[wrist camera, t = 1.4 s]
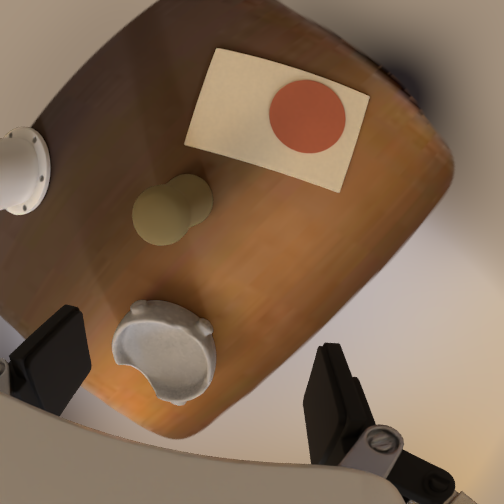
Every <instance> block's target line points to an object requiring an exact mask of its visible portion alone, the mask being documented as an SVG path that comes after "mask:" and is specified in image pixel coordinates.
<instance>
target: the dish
mask: <svg viewBox="0 0 504 504" xmlns="http://www.w3.org/2000/svg"><path fill="white" fill-rule="evenodd" d="M130 309H131V310H130V311H129V312H128V313H127V314H126V315H125V316H124V318H123V319H122V321H121V322H120V324H119V325H118V327H117V329H116V331H115V333H114V336H113V340H112V352H113V355H114V359H115V362H116V363H117V364H118V365H130V366H132V367H134V368H136V369H138V370H139V371H140V372H141V373H142V374H143V375H144V376H145V377H146V378H147V379H148V381H149V382H150V384H151V386H152V387H153V389H154V391H155V393H156V396H157V397H158V398H159V399H161V400H164V401H170V402H171V403H173V404H175V405H178V406H179V405H184V404H185V403H186V401H188V400H191V399H194V398H196V397H197V396H199V395H201V394H202V393H203V392H204V391H205V390H206V389H207V388H208V386H209V385H210V383H211V381H212V378H213V375H214V372H215V367H216V348H215V343H214V339H213V337H212V333H213V327H212V325H211V324H210V322H209V321H208V320H206V319H204V318H201V319H200V318H199V317H198V316H197V315H195V314H194V313H192V312H191V311H189V310H187V309H185V308H183V307H181V306H179V305H177V304H174V303H170V302H167V301H161V300H150V301H146V300H138V301H136V302H134V303H133V304H132V305H131V307H130Z"/></svg>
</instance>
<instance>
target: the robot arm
mask: <svg viewBox="0 0 504 504" xmlns="http://www.w3.org/2000/svg"><path fill="white" fill-rule="evenodd" d="M50 168H51V167H50V156H49V151H48V148H47V145H46V143H45V141H44V139H43V137H42V136H41V135H40V134H39V133H38V132H37V131H36V130H34V129H32V128H29V127H19V128H15V129H13V130H11V131H10V132H8V133H7V134H6V135H5V136H4V138H0V210H2V209H6V210H7V211H9V212H10V213H12V214H16V215H23V214H26V213H29V212H31V211H33V210H34V209H35V208H36V207H37V206H38V205H39V204H40V203H41V201H42V200H43V198H44V196H45V194H46V191H47V188H48V185H49V179H50ZM9 357H10V360H11V361H10V362H9V363H8V362H7V361H6V360H4V359H3V358H0V504H477V503H476V502H475V501H473V500H472V499H471V498H470V497H468V496H467V495H466V494H465V493H464V492H462V491H461V492H460V493H458V492H456V491H455V481H454V479H453V477H452V476H451V475H450V474H449V473H448V472H447V471H445V470H443V469H441V468H439V467H437V466H435V465H433V464H430V463H429V462H427V461H425V460H423V459H421V458H419V457H417V456H415V455H412V454H411V453H409V452H407V451H405V450H403V445H404V442H403V438H402V436H401V434H400V433H399V432H398V431H397V430H395V429H394V428H392V427H389V426H387V425H376V424H375V421H374V418H373V416H372V413H371V411H370V408H369V405H368V402H367V400H366V397H365V394H364V392H363V389H362V387H361V384H360V381H359V380H358V378H357V377H352V375H351V372H350V370H349V367H348V364H347V362H346V359H345V356H344V354H343V351H342V348H341V346H340V344H338V343H324V345H323V346H319V347H318V349H317V353H316V357H315V360H314V364H313V368H312V371H311V375H310V378H309V381H308V385H307V388H306V392H305V395H304V400H303V407H304V415H305V422H306V429H307V436H308V443H309V451H310V459H311V464H291V463H270V462H258V461H246V460H236V459H227V458H219V457H212V456H205V455H199V454H193V453H187V452H181V451H176V450H171V449H166V448H162V447H157V446H153V445H148V444H144V443H140V442H136V441H132V440H129V439H125V438H121V437H118V436H114V435H111V434H107V433H105V432H101V431H98V430H95V429H92V428H89V427H86V426H83V425H80V424H78V423H75V422H72V421H69V420H67V419H64V418H61V417H59V416H60V415H61V413H62V412H63V410H64V409H65V407H66V406H67V404H68V403H69V401H70V400H71V398H72V397H73V395H74V394H75V392H76V391H77V390H78V388H79V387H80V385H81V384H82V382H83V381H84V379H85V378H86V377H87V375H88V374H89V372H90V370H91V359H90V355H89V349H88V344H87V339H86V333H85V327H84V320H83V314H82V312H81V311H80V310H79V308H78V307H74V306H70V305H64V306H63V307H62V308H60V309H59V310H58V311H57V312H56V313H55V314H54V315H52V316H51V317H50V318H49V319H48V320H47V321H46V322H45V323H43V324H42V325H41V326H40V327H39V328H38V329H37V330H36V331H35V332H34V333H33V334H31V335H30V336H29V337H28V338H27V339H26V340H25V341H24V342H23V343H22V344H21V345H20V346H19V347H18V348H17V349H16V350H15V351H14V352H12V353H11V354H10V355H9Z"/></svg>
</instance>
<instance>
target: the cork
mask: <svg viewBox="0 0 504 504" xmlns="http://www.w3.org/2000/svg"><path fill="white" fill-rule="evenodd" d="M212 205H213V196H212V191H211V189H210V187H209V185H208V184H207V183H206V182H205V181H204V180H203V179H202V178H200V177H198V176H196V175H191V174H183V175H179V176H177V177H175V178H173V179H171V180H170V181H169V182H168V183H167V184H165V185H163V184H162V185H157V186H152V187H150V188H148V189H146V190H145V191H143V192H142V193H141V195H140V196H139V197H138V198H137V199H136V202H135V204H134V206H133V211H132V219H133V224H134V227H135V229H136V231H137V233H138V234H139V235H140V236H141V237H142V238H143V239H144V240H145V241H147V242H149V243H151V244H154V245H159V246H162V245H170V244H173V243H175V242H177V241H179V240H180V239H181V238H182V237H183V236H184V235H185V234H186V233H187V231H188V229H189V227H192V226H195V225H197V224H199V223H201V222H203V221H204V220H205V219H206V218H207V217H208V215H209V214H210V212H211V210H212Z"/></svg>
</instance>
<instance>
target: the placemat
mask: <svg viewBox="0 0 504 504" xmlns="http://www.w3.org/2000/svg"><path fill="white" fill-rule="evenodd" d="M369 97H370V96H368V95H365V94H363V93H361V92H358V91H356V90H353V89H351V88H349V87H346V86H344V85H341V84H339V83H336V82H333V81H331V80H328V79H325V78H323V77H320V76H317V75H314V74H311V73H308V72H305V71H302V70H299V69H296V68H293V67H290V66H287V65H283V64H280V63H277V62H273V61H269V60H266V59H262V58H258V57H254V56H251V55H246V54H242V53H238V52H234V51H229V50H224V49H220V48H216V51H215V53H214V56H213V59H212V61H211V64H210V67H209V70H208V72H207V75H206V78H205V81H204V84H203V87H202V89H201V92H200V95H199V98H198V101H197V104H196V108H195V111H194V114H193V117H192V120H191V123H190V127H189V130H188V133H187V136H186V140H185V143H184V145H187V146H191V147H194V148H198V149H202V150H206V151H209V152H213V153H217V154H220V155H224V156H227V157H231V158H234V159H238V160H241V161H245V162H248V163H251V164H254V165H258V166H261V167H264V168H267V169H271V170H274V171H277V172H280V173H283V174H286V175H289V176H292V177H295V178H298V179H301V180H304V181H307V182H310V183H313V184H316V185H318V186H321V187H324V188H327V189H330V190H332V191H335V192H338V193H339V192H340V189H341V187H342V184H343V181H344V178H345V175H346V172H347V169H348V166H349V163H350V160H351V156H352V153H353V150H354V147H355V144H356V141H357V138H358V134H359V131H360V128H361V125H362V121H363V118H364V115H365V111H366V108H367V104H368V101H369Z"/></svg>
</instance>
